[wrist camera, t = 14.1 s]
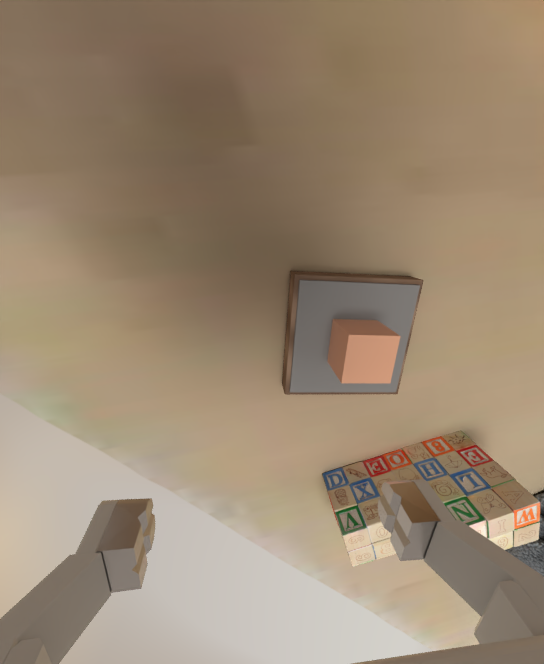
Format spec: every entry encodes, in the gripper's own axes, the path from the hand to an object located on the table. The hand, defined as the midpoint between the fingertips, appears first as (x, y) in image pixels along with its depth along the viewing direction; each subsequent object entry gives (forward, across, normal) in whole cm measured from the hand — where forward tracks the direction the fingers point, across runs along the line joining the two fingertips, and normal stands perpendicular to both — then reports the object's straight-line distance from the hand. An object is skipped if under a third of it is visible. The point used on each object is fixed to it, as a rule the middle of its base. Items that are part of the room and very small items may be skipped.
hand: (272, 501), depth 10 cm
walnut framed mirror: (+24, -12, +3) cm, 27 cm away
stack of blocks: (+24, -22, +24) cm, 41 cm away
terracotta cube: (+21, -12, +3) cm, 24 cm away
